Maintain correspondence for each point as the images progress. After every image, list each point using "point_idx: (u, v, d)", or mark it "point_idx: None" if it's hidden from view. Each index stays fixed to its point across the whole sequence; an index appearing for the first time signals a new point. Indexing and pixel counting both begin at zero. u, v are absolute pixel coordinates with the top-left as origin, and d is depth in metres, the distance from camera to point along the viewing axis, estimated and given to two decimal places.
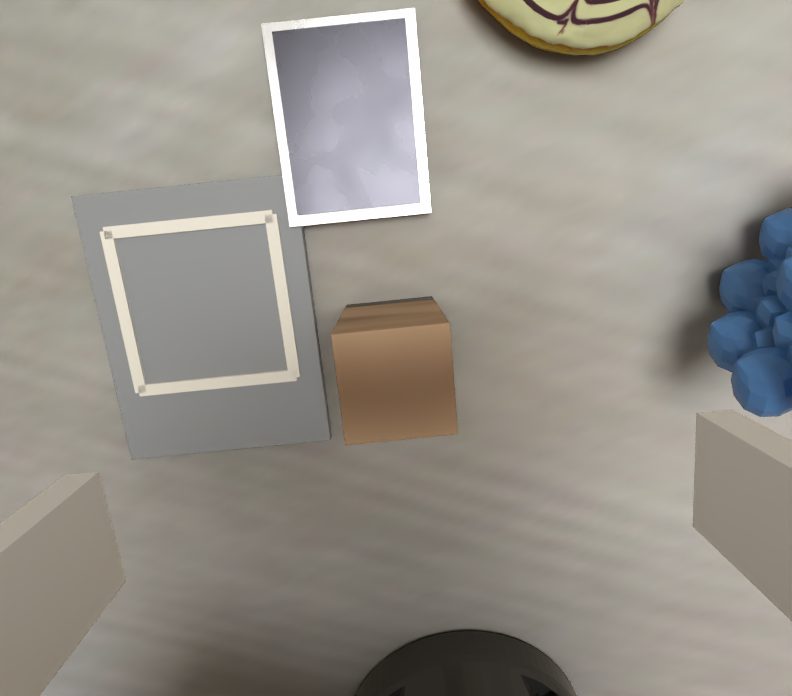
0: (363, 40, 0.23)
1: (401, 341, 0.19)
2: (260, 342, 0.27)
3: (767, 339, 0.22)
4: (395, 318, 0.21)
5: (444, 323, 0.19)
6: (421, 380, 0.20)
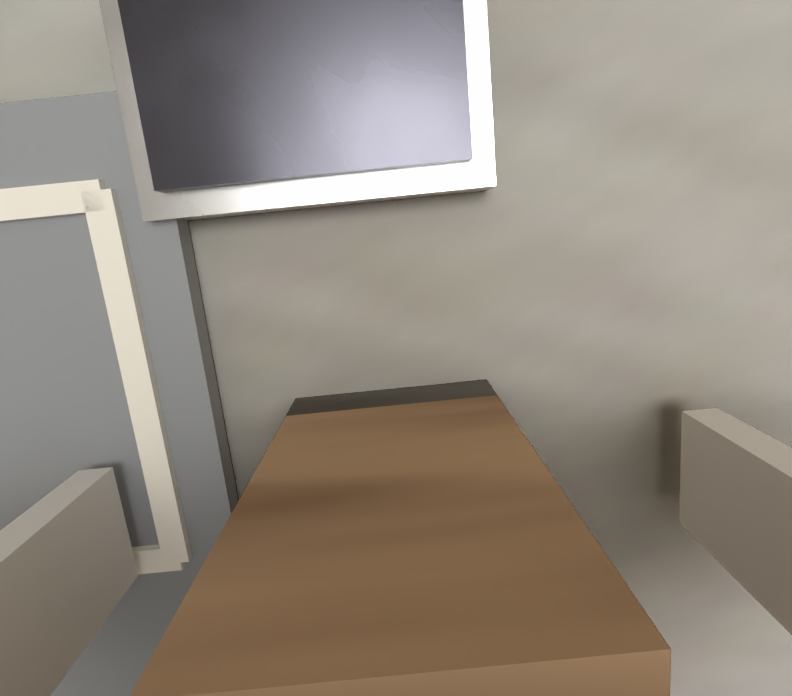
0: None
1: None
2: None
3: None
4: (413, 525, 0.06)
5: (644, 646, 0.04)
6: None
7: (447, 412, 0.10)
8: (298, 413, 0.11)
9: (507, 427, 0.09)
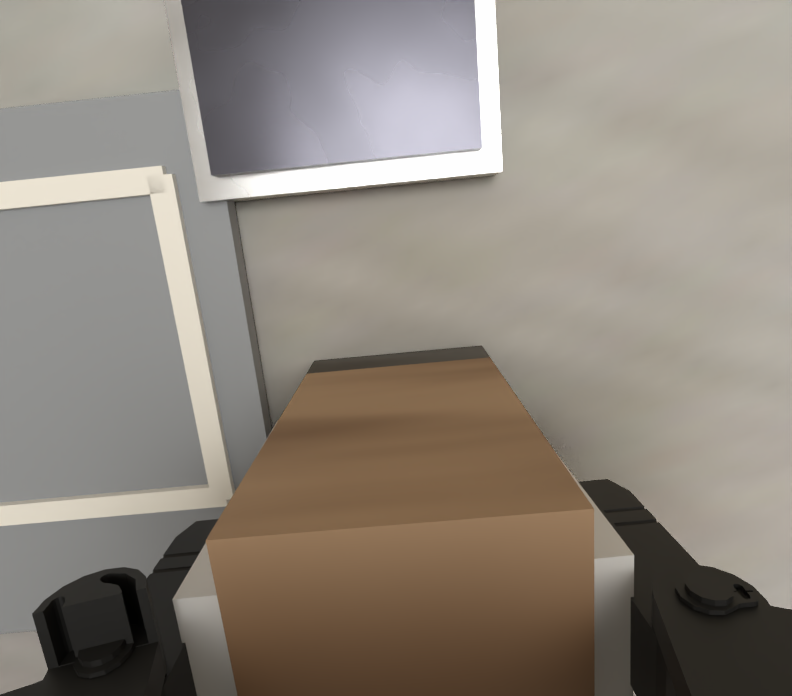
0: None
1: (434, 562, 0.06)
2: (154, 432, 0.14)
3: None
4: (412, 443, 0.08)
5: (575, 508, 0.06)
6: (493, 671, 0.06)
7: (445, 370, 0.12)
8: (317, 371, 0.13)
9: (495, 380, 0.11)
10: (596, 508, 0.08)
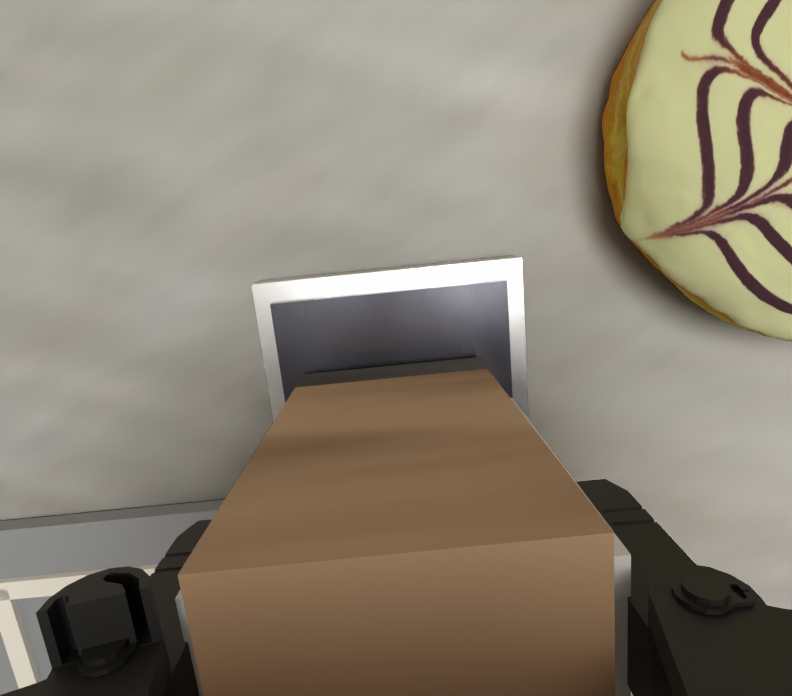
0: (432, 316, 0.13)
1: (435, 595, 0.05)
2: None
3: None
4: (409, 461, 0.07)
5: (593, 532, 0.05)
6: None
7: (442, 382, 0.11)
8: (306, 385, 0.12)
9: (495, 392, 0.10)
10: None
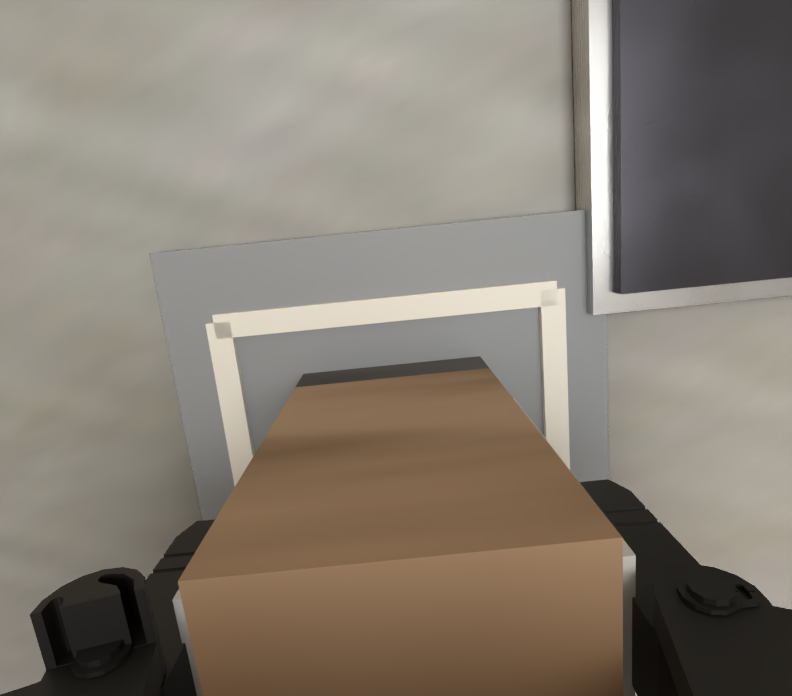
0: None
1: (441, 601, 0.05)
2: None
3: None
4: (412, 463, 0.07)
5: (601, 537, 0.05)
6: None
7: (443, 382, 0.11)
8: (306, 385, 0.12)
9: (497, 392, 0.10)
10: None
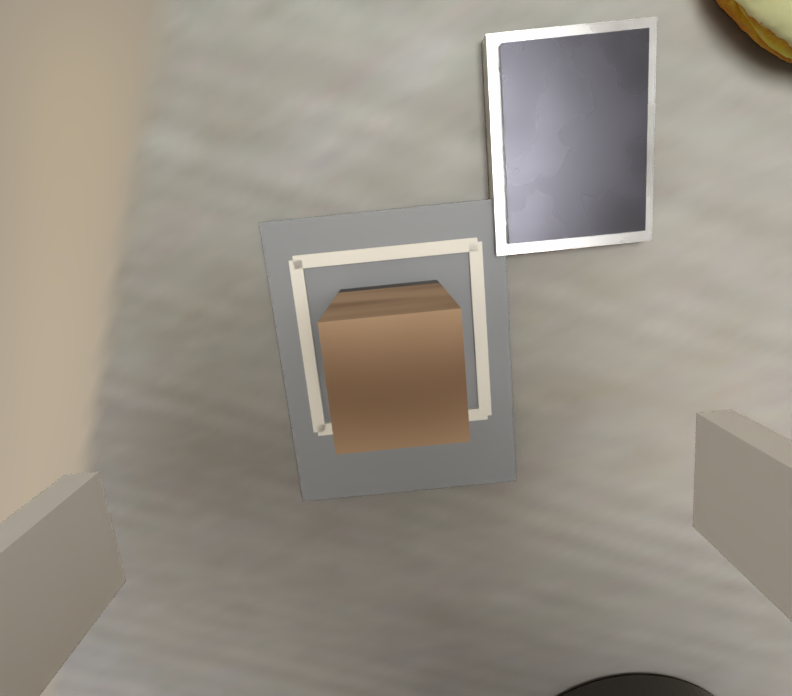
0: (601, 52, 0.21)
1: (403, 330, 0.16)
2: None
3: None
4: (395, 303, 0.18)
5: (455, 309, 0.16)
6: (426, 378, 0.16)
7: (414, 287, 0.22)
8: (343, 291, 0.23)
9: (439, 288, 0.21)
10: None
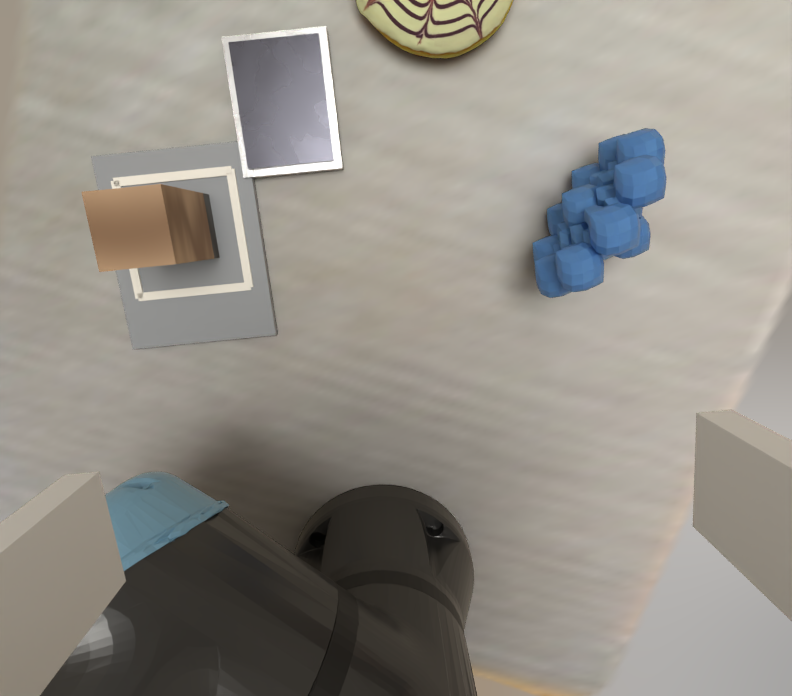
0: (290, 48, 0.34)
1: (129, 197, 0.29)
2: (224, 262, 0.38)
3: (559, 248, 0.33)
4: None
5: (157, 184, 0.29)
6: (146, 225, 0.29)
7: None
8: None
9: None
10: None
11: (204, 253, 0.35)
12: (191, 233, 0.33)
